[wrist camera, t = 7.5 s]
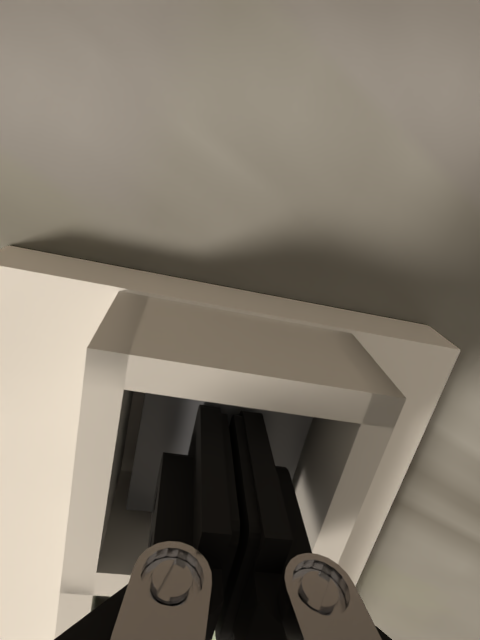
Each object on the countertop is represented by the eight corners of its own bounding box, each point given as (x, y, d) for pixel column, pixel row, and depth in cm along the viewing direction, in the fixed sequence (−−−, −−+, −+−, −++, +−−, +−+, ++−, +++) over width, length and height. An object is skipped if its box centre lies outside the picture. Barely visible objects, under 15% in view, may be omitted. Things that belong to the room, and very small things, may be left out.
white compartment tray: (8, 245, 13) (-121, 309, 8) (428, 325, 15) (548, 417, 10) (-10, 733, 21) (-77, 920, 16) (260, 737, 24) (278, 902, 18)
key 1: (156, 340, 12) (148, 371, 10) (303, 364, 13) (319, 397, 11) (134, 465, 14) (125, 509, 12) (268, 481, 14) (277, 524, 13)
